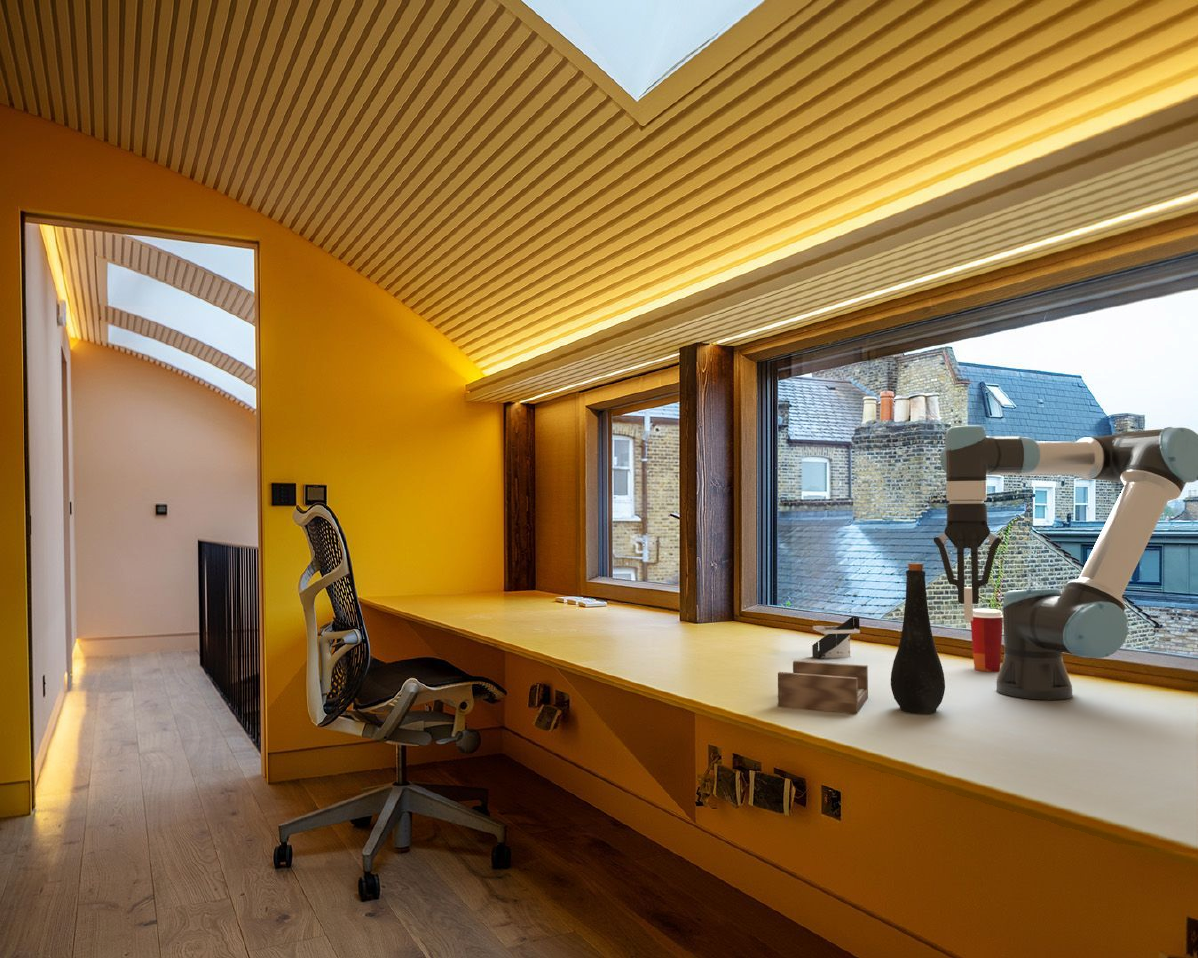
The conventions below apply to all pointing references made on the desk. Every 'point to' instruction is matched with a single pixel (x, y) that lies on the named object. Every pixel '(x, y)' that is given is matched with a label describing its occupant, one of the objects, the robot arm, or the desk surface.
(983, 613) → the coffee cup
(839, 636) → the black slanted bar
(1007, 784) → the desk surface
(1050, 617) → the robot arm
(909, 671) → the bottle
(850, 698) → the cradle
